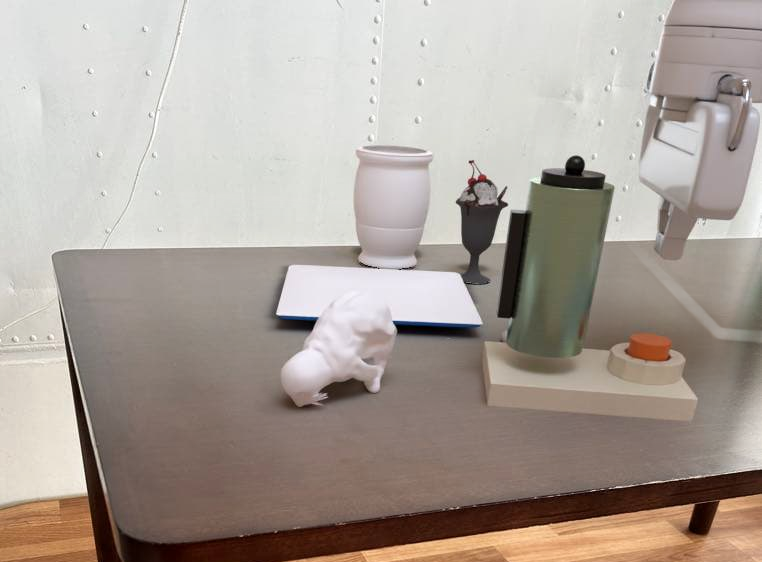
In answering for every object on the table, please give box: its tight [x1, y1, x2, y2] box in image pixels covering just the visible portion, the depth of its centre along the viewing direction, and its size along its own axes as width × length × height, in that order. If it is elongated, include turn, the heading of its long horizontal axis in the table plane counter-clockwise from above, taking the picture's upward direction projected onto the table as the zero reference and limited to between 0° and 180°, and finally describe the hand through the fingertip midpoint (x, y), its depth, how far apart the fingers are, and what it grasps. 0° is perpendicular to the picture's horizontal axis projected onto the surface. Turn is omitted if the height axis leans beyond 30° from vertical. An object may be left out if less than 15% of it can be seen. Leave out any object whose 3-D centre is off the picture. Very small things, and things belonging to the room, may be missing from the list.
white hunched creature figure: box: [280, 290, 398, 408], centre depth 72 cm, size 6×8×12 cm
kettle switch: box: [627, 332, 673, 362], centre depth 75 cm, size 4×4×2 cm
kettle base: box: [481, 340, 699, 423], centre depth 76 cm, size 18×12×4 cm, turn 85°
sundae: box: [455, 159, 509, 283], centre depth 108 cm, size 7×7×15 cm
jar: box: [353, 144, 435, 270], centre depth 114 cm, size 11×10×15 cm
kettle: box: [496, 154, 616, 358], centre depth 73 cm, size 8×10×16 cm
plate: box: [275, 264, 484, 328], centre depth 98 cm, size 22×22×2 cm
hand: (666, 256), depth 71 cm, fingers closed
